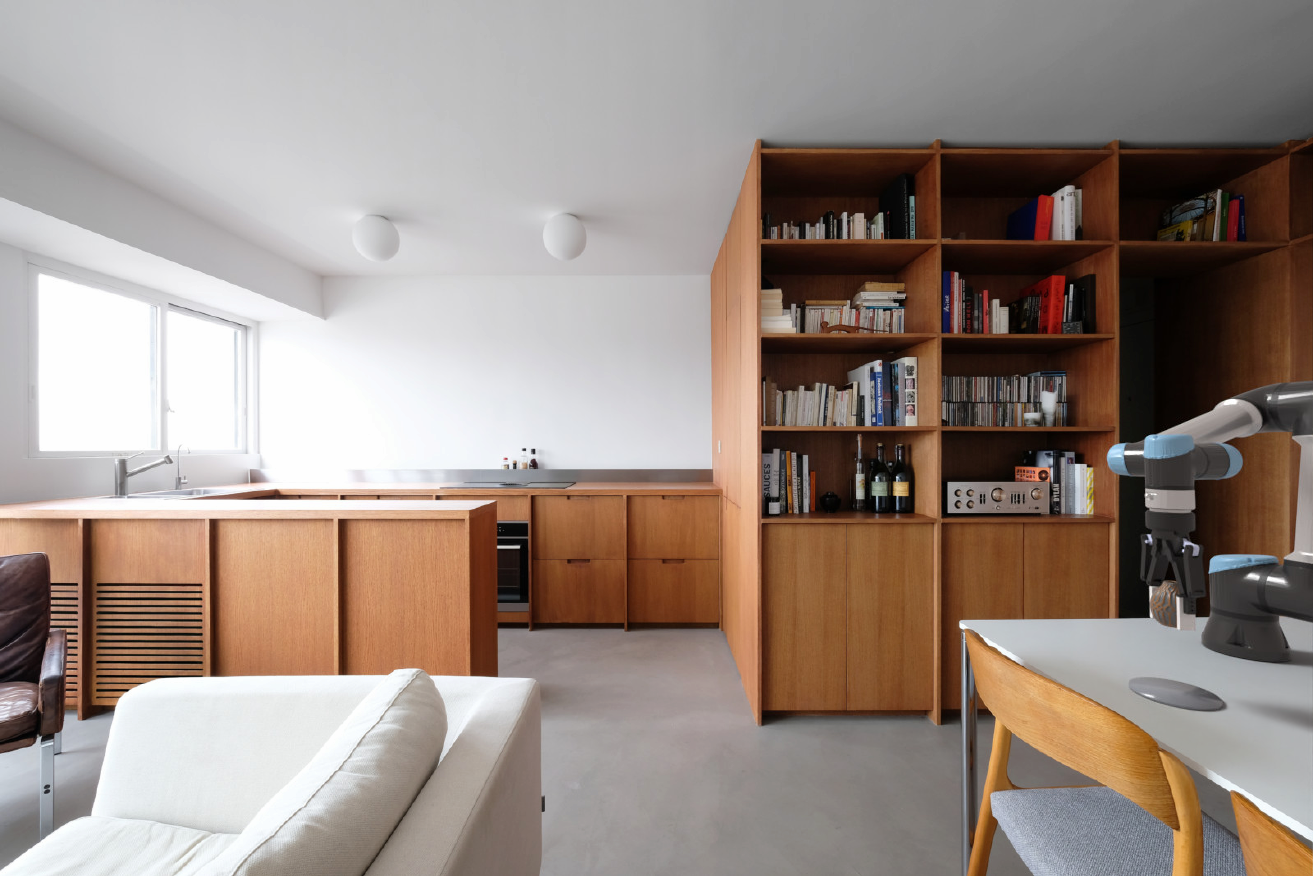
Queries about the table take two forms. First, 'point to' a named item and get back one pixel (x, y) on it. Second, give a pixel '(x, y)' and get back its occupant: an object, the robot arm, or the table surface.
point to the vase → (1165, 604)
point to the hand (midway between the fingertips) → (1171, 623)
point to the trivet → (1175, 693)
